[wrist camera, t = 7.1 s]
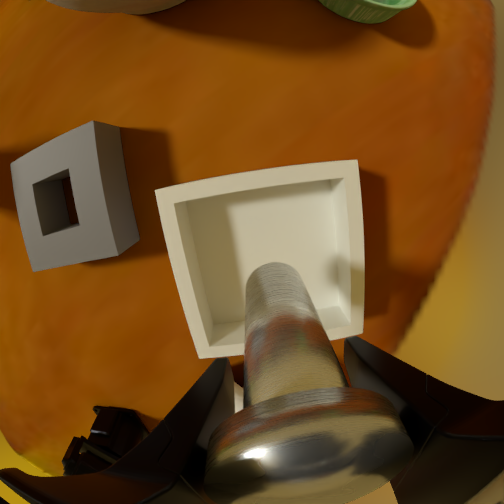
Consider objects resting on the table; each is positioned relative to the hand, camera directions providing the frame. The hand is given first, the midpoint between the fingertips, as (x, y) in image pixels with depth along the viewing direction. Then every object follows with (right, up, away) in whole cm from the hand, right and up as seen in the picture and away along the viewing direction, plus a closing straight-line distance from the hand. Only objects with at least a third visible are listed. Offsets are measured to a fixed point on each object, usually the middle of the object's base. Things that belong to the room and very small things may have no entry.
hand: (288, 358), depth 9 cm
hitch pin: (0, +2, +5) cm, 6 cm away
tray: (0, +4, +12) cm, 12 cm away
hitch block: (-15, +8, +10) cm, 20 cm away
